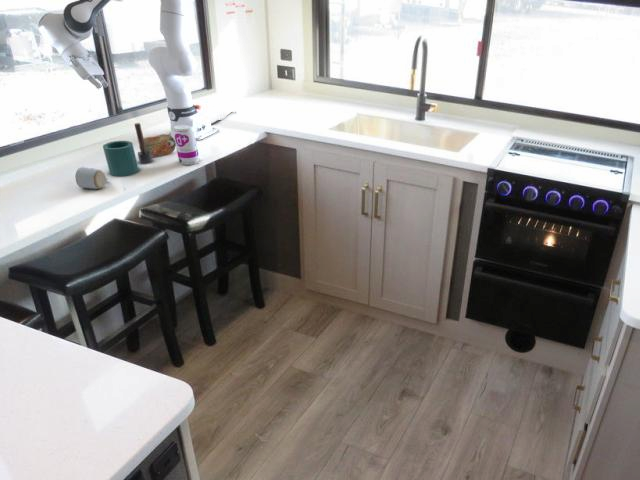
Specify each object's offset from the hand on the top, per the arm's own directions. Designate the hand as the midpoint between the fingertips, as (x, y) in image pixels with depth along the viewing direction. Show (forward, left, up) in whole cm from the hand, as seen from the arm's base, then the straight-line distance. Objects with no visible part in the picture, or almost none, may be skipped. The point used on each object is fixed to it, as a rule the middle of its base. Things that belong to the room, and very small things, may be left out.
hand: (103, 87), depth 230 cm
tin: (-12, +9, -30) cm, 34 cm away
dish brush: (-3, +11, -30) cm, 32 cm away
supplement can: (-12, +27, -30) cm, 42 cm away
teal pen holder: (+9, +13, -30) cm, 34 cm away
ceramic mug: (+26, +17, -30) cm, 43 cm away
